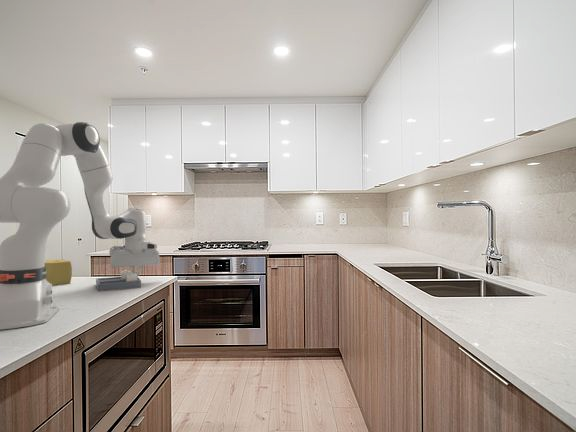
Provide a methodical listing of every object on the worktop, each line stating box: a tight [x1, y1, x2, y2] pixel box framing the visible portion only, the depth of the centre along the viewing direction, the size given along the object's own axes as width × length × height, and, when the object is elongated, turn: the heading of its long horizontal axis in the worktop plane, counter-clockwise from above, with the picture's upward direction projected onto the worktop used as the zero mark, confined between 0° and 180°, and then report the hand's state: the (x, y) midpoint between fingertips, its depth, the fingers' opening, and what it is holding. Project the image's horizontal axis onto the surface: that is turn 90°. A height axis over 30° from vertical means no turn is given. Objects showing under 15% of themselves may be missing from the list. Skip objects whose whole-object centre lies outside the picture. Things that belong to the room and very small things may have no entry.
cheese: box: [45, 258, 73, 286], centre depth 153 cm, size 10×11×10 cm
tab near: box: [126, 273, 138, 282], centre depth 148 cm, size 3×4×4 cm
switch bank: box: [95, 276, 142, 292], centre depth 149 cm, size 14×16×3 cm
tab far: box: [120, 269, 132, 279], centre depth 154 cm, size 3×4×4 cm
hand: (135, 276), depth 156 cm, fingers closed
